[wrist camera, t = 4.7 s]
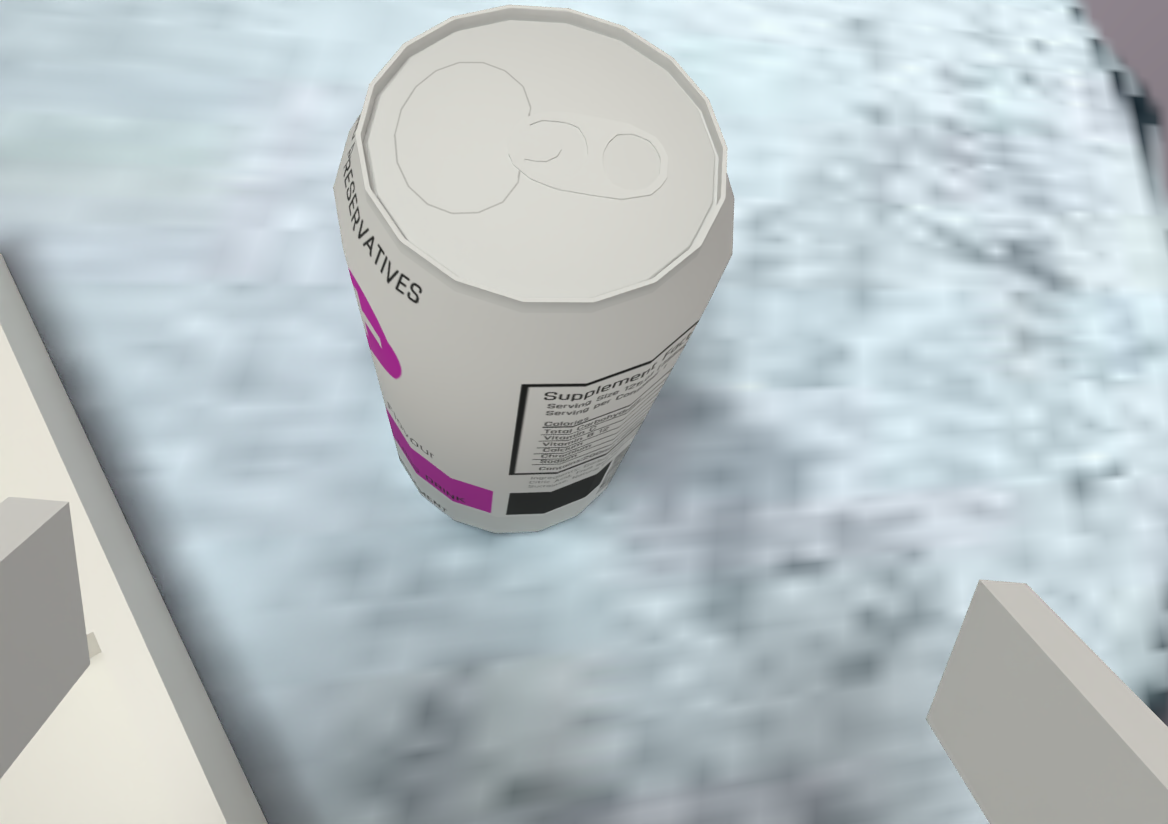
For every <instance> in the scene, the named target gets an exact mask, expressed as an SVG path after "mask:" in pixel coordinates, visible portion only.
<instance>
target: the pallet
mask: <svg viewBox="0 0 1168 824" xmlns="http://www.w3.org/2000/svg"><path fill="white" fill-rule="evenodd" d="M8 497H19V498H30V499H42V500H54V501H66V502H69V506H70V514H71V521H72V529H73V536H74V544H75V552H76V559H77V567H78V574H79V582H80V589H81V597H82V605H83V612H84V620H85V627H86V635H87V642H88V650H89V658H90V665H89V666H88V668H87V669H86V670H85V672H84V673H83V674H82V675H81V677H80V678H79V679H78V681H77V682H76V683H75V684H74V686H73V687H72V688H71V689H70V691H69V692H68V693H67V695H66V696H65V697H64V698H63V700H62V701H61V702H60V704H59V705H58V706H57V707H56V709H55V710H54V711H53V713H52V714H51V715H50V716H49V718H48V719H47V720H46V721H45V723H44V724H43V725H42V727H41V728H40V729H39V730H38V732H37V733H36V734H35V736H34V737H33V738H32V739H31V741H30V742H29V743H28V745H27V746H26V747H25V748H24V750H23V751H22V752H21V753H20V755H19V756H18V757H17V759H16V760H15V761H14V762H13V764H12V765H11V766H10V768H9V769H8V770H7V771H6V773H5V774H4V775H3V777H2V778H1V779H0V824H268V823H267V821H266V819H265V817H264V815H263V813H262V810H261V808H260V806H259V804H258V802H257V800H256V798H255V795H254V793H253V791H252V789H251V787H250V785H249V783H248V780H247V778H246V776H245V774H244V772H243V770H242V768H241V765H240V763H239V761H238V759H237V757H236V755H235V753H234V751H233V748H232V746H231V744H230V742H229V740H228V738H227V736H226V733H225V731H224V729H223V727H222V725H221V723H220V721H219V718H218V716H217V714H216V712H215V710H214V708H213V706H212V703H211V701H210V699H209V697H208V695H207V693H206V691H205V688H204V686H203V684H202V682H201V680H200V678H199V676H198V674H197V671H196V669H195V667H194V665H193V663H192V661H191V659H190V656H189V654H188V652H187V650H186V648H185V646H184V644H183V641H182V639H181V637H180V635H179V633H178V631H177V629H176V626H175V624H174V622H173V620H172V618H171V616H170V614H169V611H168V609H167V607H166V605H165V603H164V601H163V599H162V597H161V594H160V592H159V590H158V588H157V586H156V584H155V582H154V579H153V577H152V575H151V573H150V571H149V569H148V567H147V564H146V562H145V560H144V558H143V556H142V554H141V552H140V549H139V547H138V545H137V543H136V541H135V539H134V537H133V534H132V532H131V530H130V528H129V526H128V524H127V522H126V520H125V517H124V515H123V513H122V511H121V509H120V507H119V505H118V502H117V500H116V498H115V496H114V494H113V492H112V490H111V487H110V485H109V483H108V481H107V479H106V477H105V475H104V472H103V470H102V468H101V466H100V464H99V462H98V460H97V457H96V455H95V453H94V451H93V449H92V447H91V445H90V443H89V440H88V438H87V436H86V434H85V432H84V430H83V428H82V425H81V423H80V421H79V419H78V417H77V415H76V413H75V410H74V408H73V406H72V404H71V402H70V400H69V398H68V395H67V393H66V391H65V389H64V387H63V385H62V383H61V380H60V378H59V376H58V374H57V372H56V370H55V368H54V366H53V363H52V361H51V359H50V357H49V355H48V353H47V351H46V348H45V346H44V344H43V342H42V340H41V338H40V336H39V333H38V331H37V329H36V327H35V325H34V323H33V321H32V318H31V316H30V314H29V312H28V310H27V308H26V306H25V303H24V301H23V299H22V297H21V295H20V293H19V291H18V289H17V286H16V284H15V282H14V280H13V278H12V276H11V274H10V271H9V269H8V267H7V265H6V263H5V261H4V259H3V256H2V254H1V253H0V503H1V502H3V501H4V500H5V499H6V498H8Z"/></svg>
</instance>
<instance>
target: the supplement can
mask: <svg viewBox="0 0 1168 824" xmlns="http://www.w3.org/2000/svg"><path fill="white" fill-rule="evenodd" d="M333 189H334V195H335V202H336V208H337V214H338V220H339V226H340V232H341V238H342V245H343V250H344V254H345V257H346V261H347V265H348V268H349V272H350V276H351V280H352V283H353V287H354V291H355V295H356V298H357V302H358V306H359V310H360V313H361V317H362V321H363V324H364V328H365V332H366V336H367V339H368V343H369V347H370V351H371V354H372V358H373V362H374V365H375V369H376V373H377V377H378V380H379V384H380V388H381V392H382V395H383V399H384V403H385V407H386V410H387V414H388V418H389V421H390V425H391V429H392V433H393V436H394V440H395V444H396V448H397V451H398V455H399V459H400V461H401V463H402V465H403V466H404V468H405V469H406V471H407V473H408V474H409V476H410V478H411V479H412V481H413V482H414V484H415V486H416V487H417V489H418V491H419V492H420V494H421V495H422V496H423V497H425V498H426V499H427V500H428V501H430V502H431V503H432V504H434V505H435V506H436V507H438V508H439V509H440V510H441V511H443V512H444V513H445V514H447V515H448V516H449V517H451V518H452V519H453V520H455V521H458V522H461V523H464V524H467V525H471V526H474V527H477V528H480V529H483V530H486V531H490V532H493V533H515V532H538V531H541V530H543V529H546V528H548V527H551V526H553V525H555V524H558V523H560V522H563V521H565V520H568V519H570V518H573V517H575V516H577V515H578V514H579V513H580V512H581V511H582V510H584V509H585V508H586V507H587V506H588V505H589V504H590V503H591V502H592V501H593V500H595V499H596V498H597V497H598V496H599V495H600V494H601V493H602V492H603V491H604V490H605V489H606V488H607V486H608V484H609V483H610V481H611V479H612V477H613V475H614V473H615V472H616V470H617V468H618V466H619V464H620V463H621V461H622V459H623V457H624V455H625V454H626V452H627V450H628V448H629V446H630V444H631V443H632V441H633V439H634V437H635V435H636V434H637V432H638V430H639V428H640V426H641V425H642V423H643V421H644V419H645V417H646V416H647V414H648V412H649V410H650V408H651V406H652V405H653V403H654V401H655V399H656V397H657V396H658V394H659V392H660V390H661V388H662V387H663V385H664V383H665V381H666V379H667V377H668V376H669V374H670V372H671V370H672V368H673V367H674V365H675V363H676V361H677V359H678V358H679V356H680V354H681V352H682V350H683V348H684V347H685V345H686V343H687V341H688V339H689V338H690V336H691V334H692V332H693V330H694V329H695V327H696V325H697V323H698V321H699V319H700V318H701V316H702V314H703V312H704V310H705V309H706V307H707V305H708V303H709V301H710V299H711V297H712V295H713V293H714V290H715V288H716V286H717V284H718V282H719V280H720V278H721V276H722V274H723V272H724V270H725V268H726V266H727V264H728V262H729V260H730V258H731V256H732V249H733V220H734V195H733V192H732V189H731V185H730V182H729V178H728V175H727V145H726V143H725V140H724V138H723V135H722V132H721V130H720V127H719V124H718V122H717V119H716V117H715V114H714V111H713V109H712V106H711V103H710V101H709V99H708V98H707V97H706V95H705V94H704V93H703V92H702V91H701V90H700V88H699V87H698V86H697V85H696V84H695V83H694V81H693V80H692V79H691V78H690V77H689V76H688V74H687V73H686V72H685V71H684V70H683V68H682V67H681V66H680V65H679V64H678V63H677V61H676V60H675V59H674V58H673V57H671V56H670V55H668V54H667V53H665V52H664V51H662V50H660V49H659V48H657V47H656V46H654V45H653V44H651V43H650V42H648V41H647V40H645V39H643V38H642V37H640V36H639V35H637V34H636V33H634V32H633V31H631V30H629V29H628V28H626V27H625V26H622V25H618V24H615V23H612V22H609V21H606V20H603V19H600V18H597V17H594V16H591V15H588V14H584V13H581V12H578V11H575V10H572V9H569V8H554V7H538V6H522V5H505V6H501V7H496V8H491V9H486V10H481V11H476V12H472V13H467V14H462V15H457V16H452V17H450V18H449V19H447V20H445V21H443V22H441V23H440V24H438V25H436V26H434V27H432V28H431V29H429V30H427V31H425V32H423V33H422V34H420V35H418V36H416V37H414V38H413V39H411V40H409V41H407V42H405V43H404V44H403V45H402V46H401V47H400V48H399V50H398V51H397V52H396V53H395V54H394V56H393V57H392V58H391V59H390V60H389V61H388V63H387V64H386V65H385V66H384V67H383V69H382V70H381V71H380V72H379V73H378V75H377V76H376V77H375V78H374V79H373V81H372V82H371V83H370V84H369V87H368V91H367V95H366V98H365V102H364V105H363V109H362V112H361V114H360V115H359V117H358V118H357V120H356V122H355V123H354V125H353V126H352V128H351V129H350V131H349V134H348V137H347V141H346V144H345V148H344V151H343V155H342V158H341V162H340V166H339V169H338V173H337V176H336V180H335V183H334V187H333Z"/></svg>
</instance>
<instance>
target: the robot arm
mask: <svg viewBox="0 0 1168 824" xmlns="http://www.w3.org/2000/svg"><path fill="white" fill-rule="evenodd" d="M89 665H90V658H89V650H88V642H87V635H86V627H85V620H84V612H83V605H82V597H81V589H80V582H79V574H78V567H77V559H76V552H75V544H74V536H73V529H72V521H71V514H70V506H69V502H66V501H54V500H42V499H30V498H19V497H8V498H6V499H5V500H4V501H3V502H1V503H0V779H1V778H2V777H3V775H4V774H5V773H6V771H7V770H8V769H9V768H10V766H11V765H12V764H13V762H14V761H15V760H16V759H17V757H18V756H19V755H20V753H21V752H22V751H23V750H24V748H25V747H26V746H27V745H28V743H29V742H30V741H31V739H32V738H33V737H34V736H35V734H36V733H37V732H38V730H39V729H40V728H41V727H42V725H43V724H44V723H45V721H46V720H47V719H48V718H49V716H50V715H51V714H52V713H53V711H54V710H55V709H56V707H57V706H58V705H59V704H60V702H61V701H62V700H63V698H64V697H65V696H66V695H67V693H68V692H69V691H70V689H71V688H72V687H73V686H74V684H75V683H76V682H77V681H78V679H79V678H80V677H81V675H82V674H83V673H84V672H85V670H86V669H87V668H88V666H89ZM926 720H927V722H928V724H929V725H930V727H931V729H932V730H933V732H934V733H935V735H936V737H937V738H938V740H939V742H940V743H941V745H942V746H943V748H944V750H945V751H946V753H947V755H948V756H949V758H950V760H951V761H952V763H953V764H954V766H955V768H956V769H957V771H958V773H959V774H960V776H961V777H962V779H963V781H964V782H965V784H966V786H967V787H968V789H969V791H970V792H971V794H972V795H973V797H974V799H975V800H976V802H977V804H978V805H979V807H980V808H981V810H982V812H983V813H984V815H985V817H986V818H987V820H988V822H989V823H990V824H1168V727H1167V726H1166V725H1165V724H1164V723H1163V722H1162V721H1161V720H1160V719H1159V718H1158V717H1157V716H1156V715H1155V714H1154V713H1153V712H1152V711H1151V710H1150V709H1149V708H1148V707H1147V706H1146V705H1145V704H1144V703H1143V702H1142V701H1141V700H1140V699H1139V697H1138V696H1137V695H1136V694H1135V693H1134V692H1133V691H1132V690H1131V689H1130V688H1129V687H1128V686H1127V685H1126V684H1125V683H1124V682H1123V681H1122V680H1121V679H1120V678H1119V677H1118V676H1117V675H1116V674H1115V673H1114V672H1113V671H1112V670H1111V669H1110V668H1109V667H1108V666H1107V665H1106V664H1105V663H1104V662H1103V661H1102V660H1101V659H1100V658H1099V657H1098V656H1097V655H1096V654H1095V653H1094V652H1093V651H1092V650H1091V649H1090V648H1089V647H1088V646H1087V645H1086V644H1085V643H1084V642H1083V641H1082V640H1081V639H1080V638H1079V637H1078V636H1077V635H1076V633H1075V632H1074V631H1073V630H1072V629H1071V628H1070V627H1069V626H1068V625H1067V624H1066V623H1065V622H1064V621H1063V620H1062V619H1061V618H1060V617H1059V616H1058V615H1057V614H1056V613H1055V612H1054V611H1053V610H1052V609H1051V608H1050V607H1049V606H1048V605H1047V604H1046V603H1045V602H1044V601H1043V600H1042V599H1041V598H1040V597H1039V596H1038V595H1037V594H1036V593H1035V592H1034V591H1033V590H1032V589H1031V588H1030V587H1029V586H1028V585H1027V584H1025V583H1013V582H1002V581H990V580H979V582H978V585H977V587H976V590H975V592H974V595H973V598H972V600H971V603H970V605H969V608H968V611H967V613H966V616H965V619H964V621H963V624H962V626H961V629H960V632H959V634H958V637H957V639H956V642H955V645H954V647H953V650H952V652H951V655H950V658H949V660H948V663H947V666H946V668H945V671H944V673H943V676H942V679H941V681H940V684H939V686H938V689H937V692H936V694H935V697H934V699H933V702H932V705H931V707H930V710H929V713H928V715H927V718H926Z"/></svg>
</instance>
